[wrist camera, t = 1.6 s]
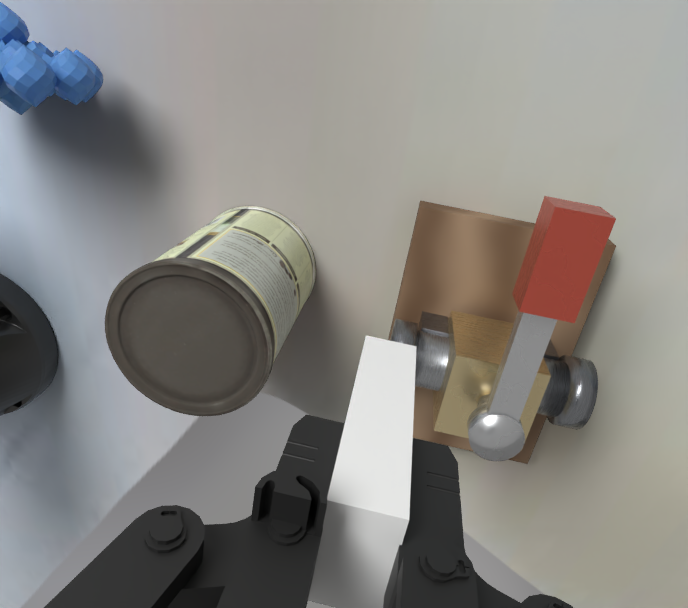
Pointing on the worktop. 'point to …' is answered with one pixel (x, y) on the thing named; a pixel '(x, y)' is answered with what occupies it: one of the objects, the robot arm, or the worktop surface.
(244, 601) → the robot arm
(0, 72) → the grapes
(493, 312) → the base board
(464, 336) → the valve body
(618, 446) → the worktop surface
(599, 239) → the valve lever
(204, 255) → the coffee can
